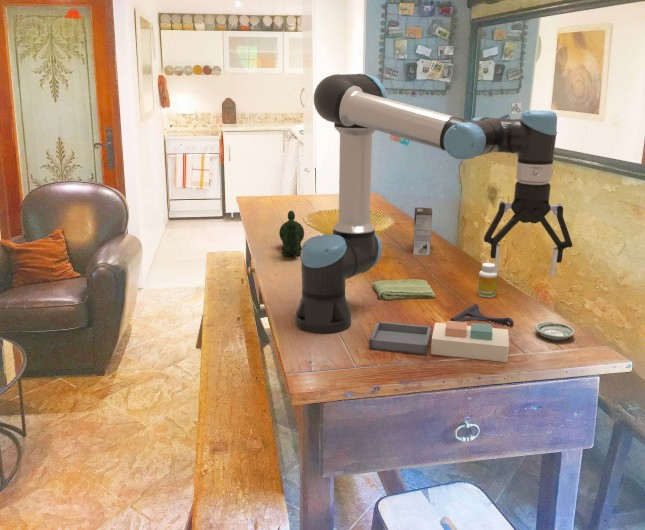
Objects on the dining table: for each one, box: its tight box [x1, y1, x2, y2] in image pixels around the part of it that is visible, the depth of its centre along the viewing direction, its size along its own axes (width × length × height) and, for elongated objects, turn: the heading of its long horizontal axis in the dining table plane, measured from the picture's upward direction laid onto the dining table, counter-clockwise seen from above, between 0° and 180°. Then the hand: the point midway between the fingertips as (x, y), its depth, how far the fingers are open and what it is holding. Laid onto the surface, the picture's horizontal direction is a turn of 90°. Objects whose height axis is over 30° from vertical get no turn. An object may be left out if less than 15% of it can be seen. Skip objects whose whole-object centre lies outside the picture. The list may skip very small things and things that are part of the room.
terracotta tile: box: [445, 320, 468, 338], centre depth 156 cm, size 5×5×2 cm
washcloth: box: [371, 278, 436, 301], centre depth 196 cm, size 13×18×3 cm
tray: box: [368, 321, 432, 356], centre depth 160 cm, size 14×12×2 cm
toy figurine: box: [278, 210, 305, 258], centre depth 235 cm, size 9×19×25 cm
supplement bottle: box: [477, 262, 498, 298], centre depth 193 cm, size 5×5×10 cm
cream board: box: [430, 322, 510, 363], centre depth 156 cm, size 18×11×4 cm, turn 76°
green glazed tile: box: [470, 322, 493, 340], centre depth 154 cm, size 5×5×2 cm
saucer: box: [534, 321, 575, 341], centre depth 164 cm, size 10×10×2 cm
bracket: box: [449, 303, 514, 328], centre depth 174 cm, size 14×15×3 cm
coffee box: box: [412, 207, 433, 256], centre depth 237 cm, size 9×6×16 cm
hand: (523, 273), depth 148 cm, fingers open, 12 cm apart
